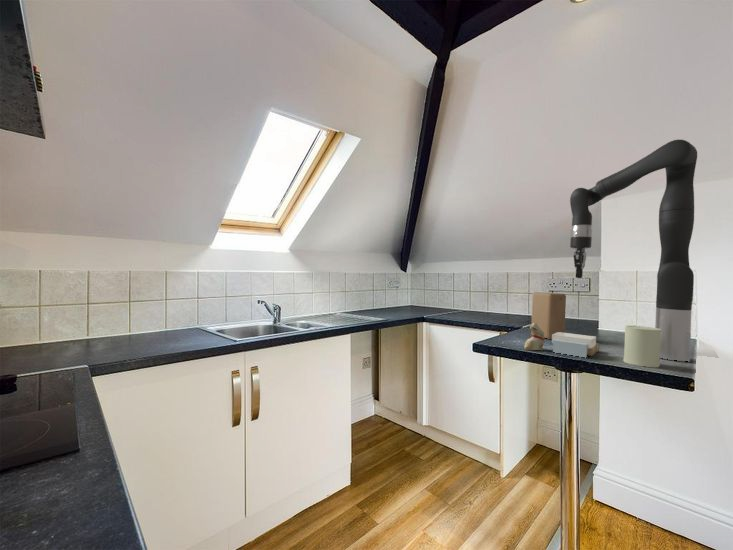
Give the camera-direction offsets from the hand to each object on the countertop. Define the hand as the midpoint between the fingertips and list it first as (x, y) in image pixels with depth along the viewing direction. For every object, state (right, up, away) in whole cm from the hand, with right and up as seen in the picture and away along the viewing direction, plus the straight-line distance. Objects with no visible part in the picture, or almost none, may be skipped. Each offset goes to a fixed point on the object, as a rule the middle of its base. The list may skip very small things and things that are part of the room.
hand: (578, 277), depth 145 cm
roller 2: (-10, -25, -16) cm, 30 cm away
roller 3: (-7, -25, -13) cm, 29 cm away
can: (-1, -27, -35) cm, 44 cm away
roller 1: (-15, -24, -22) cm, 36 cm away
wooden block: (-8, -27, +10) cm, 30 cm away
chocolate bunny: (-28, -26, -18) cm, 42 cm away
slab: (-15, -23, -22) cm, 36 cm away
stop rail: (-19, -26, -26) cm, 42 cm away
